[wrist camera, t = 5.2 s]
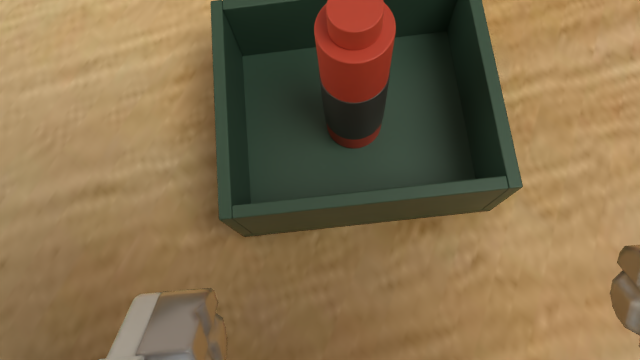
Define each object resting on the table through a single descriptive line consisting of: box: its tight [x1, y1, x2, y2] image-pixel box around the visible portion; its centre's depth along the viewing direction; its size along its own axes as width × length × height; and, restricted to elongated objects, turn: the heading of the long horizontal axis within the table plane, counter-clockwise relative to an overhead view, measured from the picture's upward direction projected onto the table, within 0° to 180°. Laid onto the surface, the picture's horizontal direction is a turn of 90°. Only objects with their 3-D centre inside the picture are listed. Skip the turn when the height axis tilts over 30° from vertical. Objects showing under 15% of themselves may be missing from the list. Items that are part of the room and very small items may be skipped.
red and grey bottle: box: [314, 0, 396, 148], centre depth 21 cm, size 3×3×10 cm
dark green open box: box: [211, 0, 523, 237], centre depth 24 cm, size 13×11×5 cm
